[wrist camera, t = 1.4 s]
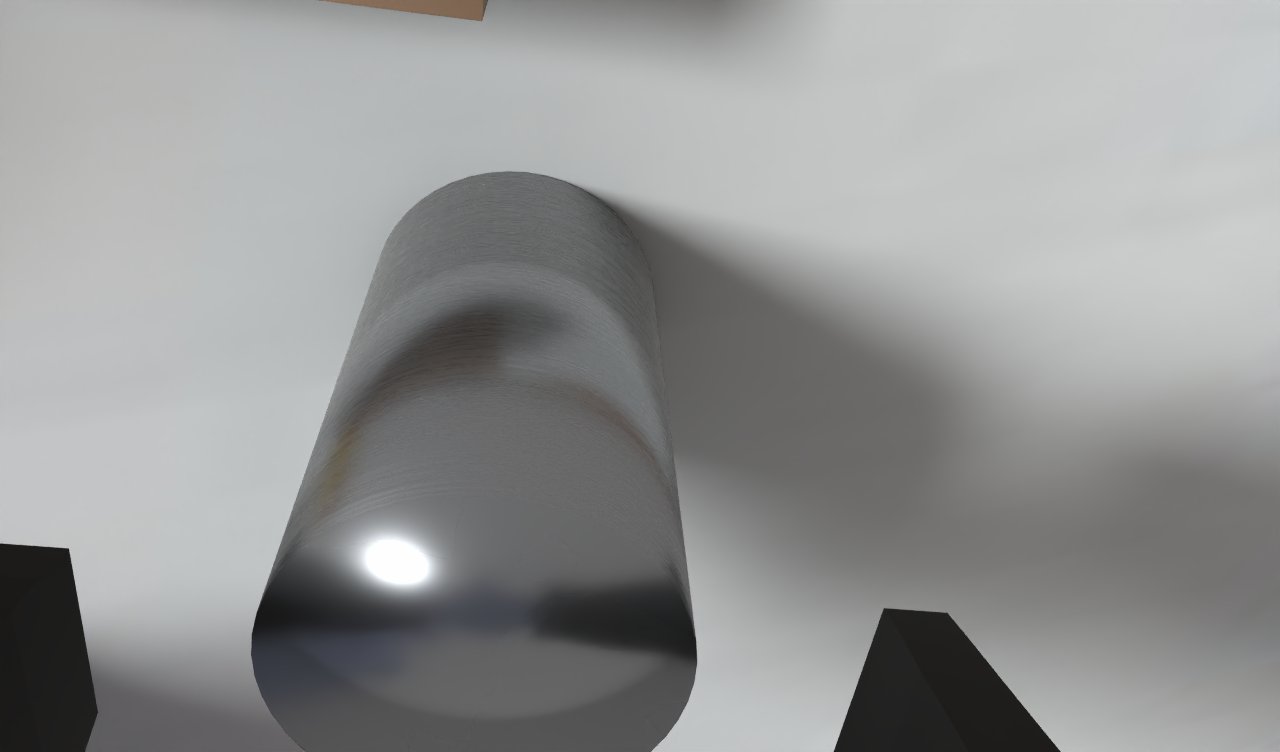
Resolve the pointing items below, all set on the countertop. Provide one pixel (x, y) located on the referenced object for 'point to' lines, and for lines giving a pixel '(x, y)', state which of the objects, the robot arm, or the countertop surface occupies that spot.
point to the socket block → (428, 7)
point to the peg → (489, 497)
